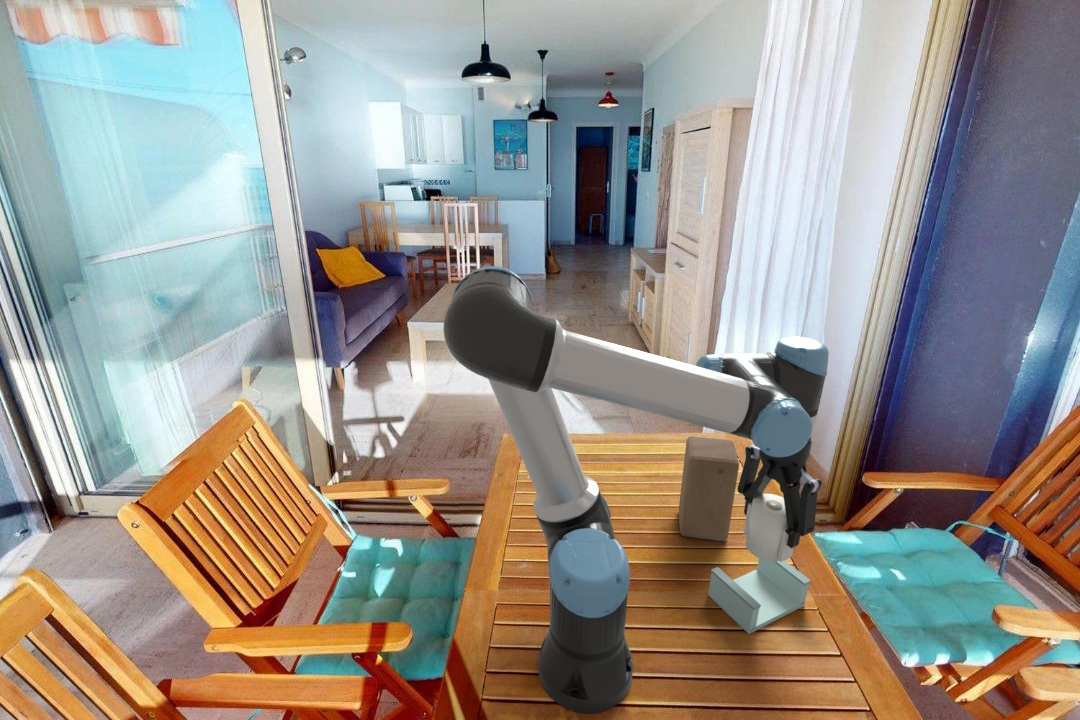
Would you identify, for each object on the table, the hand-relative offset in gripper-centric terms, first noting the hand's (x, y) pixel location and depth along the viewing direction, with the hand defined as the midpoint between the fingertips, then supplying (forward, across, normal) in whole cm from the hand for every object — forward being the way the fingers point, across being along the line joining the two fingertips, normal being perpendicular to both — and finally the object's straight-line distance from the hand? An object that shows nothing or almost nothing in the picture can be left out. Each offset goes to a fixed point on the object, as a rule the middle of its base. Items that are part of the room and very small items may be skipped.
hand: (766, 544), depth 99 cm
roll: (+1, 0, 0) cm, 1 cm away
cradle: (+13, 0, 0) cm, 13 cm away
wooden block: (+13, +21, -6) cm, 25 cm away
